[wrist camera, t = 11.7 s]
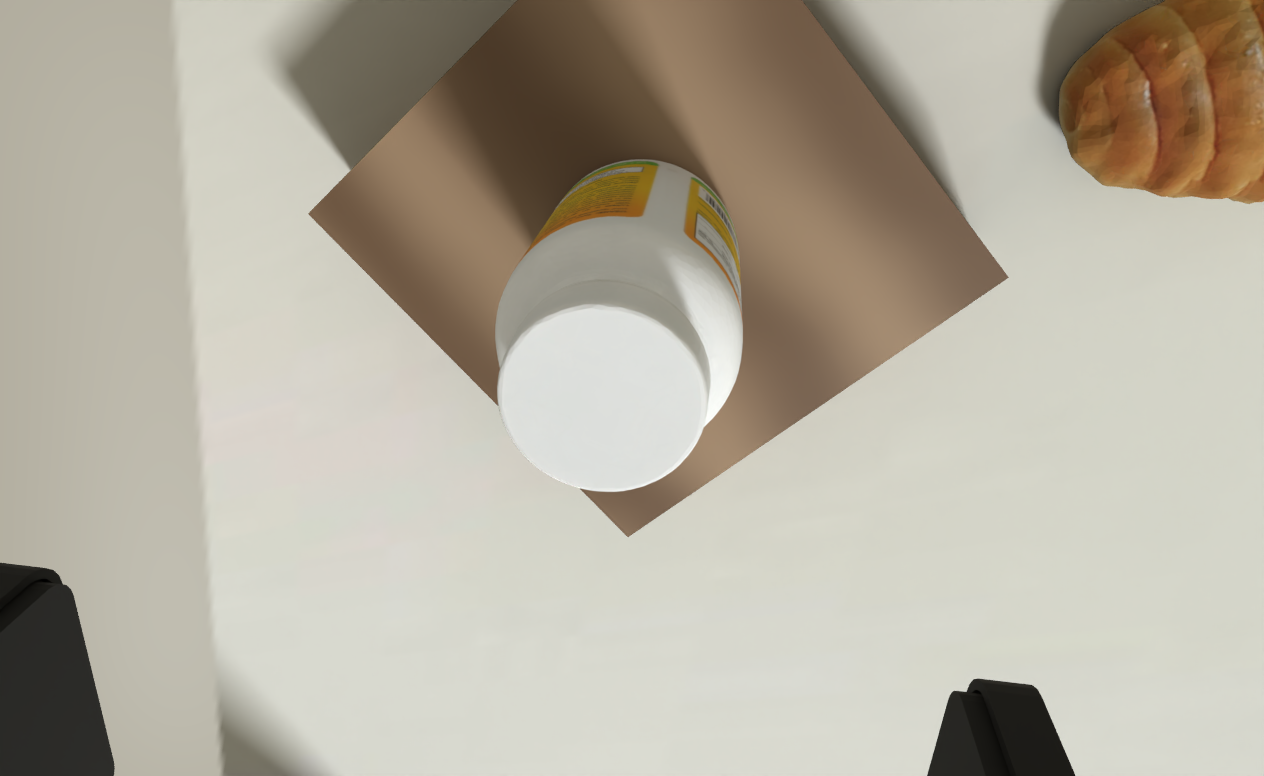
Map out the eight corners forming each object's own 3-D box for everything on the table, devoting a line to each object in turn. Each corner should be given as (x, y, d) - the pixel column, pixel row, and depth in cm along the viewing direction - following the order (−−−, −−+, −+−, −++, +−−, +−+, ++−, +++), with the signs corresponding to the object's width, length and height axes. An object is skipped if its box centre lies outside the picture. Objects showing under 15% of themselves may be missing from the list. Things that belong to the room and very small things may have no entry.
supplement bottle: (524, 300, 27) (425, 468, 18) (585, 124, 24) (505, 217, 15) (694, 367, 27) (680, 563, 18) (771, 199, 25) (795, 331, 16)
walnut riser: (639, 474, 33) (628, 537, 30) (359, 183, 30) (308, 214, 26) (974, 237, 28) (1008, 277, 25) (687, -147, 25) (678, -165, 21)
